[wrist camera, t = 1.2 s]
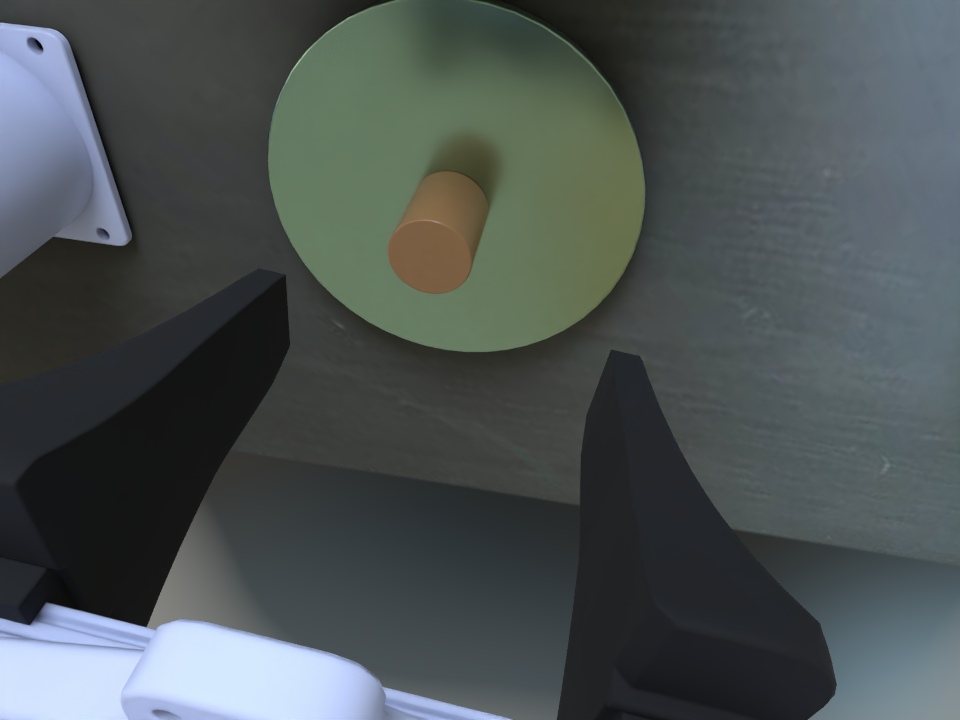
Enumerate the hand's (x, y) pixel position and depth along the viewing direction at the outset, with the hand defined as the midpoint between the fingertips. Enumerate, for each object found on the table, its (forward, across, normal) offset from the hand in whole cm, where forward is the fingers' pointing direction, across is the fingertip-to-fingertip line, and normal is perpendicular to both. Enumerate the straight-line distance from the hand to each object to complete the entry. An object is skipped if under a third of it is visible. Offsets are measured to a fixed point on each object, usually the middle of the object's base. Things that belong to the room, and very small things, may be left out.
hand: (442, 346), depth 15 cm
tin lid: (+10, +2, +2) cm, 10 cm away
